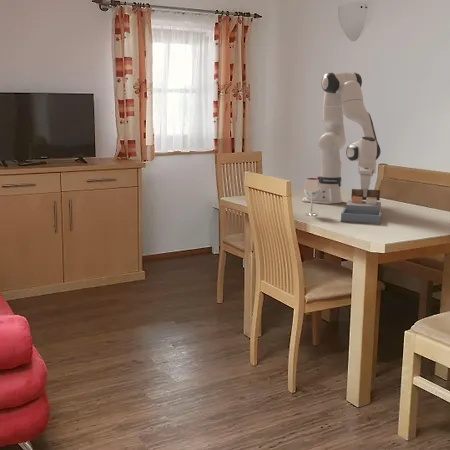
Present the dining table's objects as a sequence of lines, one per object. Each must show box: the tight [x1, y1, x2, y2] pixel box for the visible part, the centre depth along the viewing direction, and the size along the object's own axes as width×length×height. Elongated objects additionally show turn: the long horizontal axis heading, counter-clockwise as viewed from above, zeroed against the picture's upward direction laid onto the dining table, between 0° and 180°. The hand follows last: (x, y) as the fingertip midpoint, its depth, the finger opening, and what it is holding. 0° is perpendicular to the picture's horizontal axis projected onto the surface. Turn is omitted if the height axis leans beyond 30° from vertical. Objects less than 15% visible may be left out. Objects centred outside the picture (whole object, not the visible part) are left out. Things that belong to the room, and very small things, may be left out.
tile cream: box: [365, 197, 378, 204], centre depth 305 cm, size 5×5×2 cm
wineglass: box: [303, 177, 321, 217], centre depth 303 cm, size 8×8×18 cm
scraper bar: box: [350, 188, 381, 202], centre depth 312 cm, size 14×3×5 cm, turn 79°
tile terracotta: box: [351, 196, 364, 203], centre depth 307 cm, size 5×5×2 cm
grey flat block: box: [345, 199, 382, 211], centre depth 304 cm, size 16×14×6 cm
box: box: [340, 208, 383, 225], centre depth 292 cm, size 18×13×4 cm
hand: (365, 196), depth 312 cm, fingers closed on scraper bar, 3 cm apart
